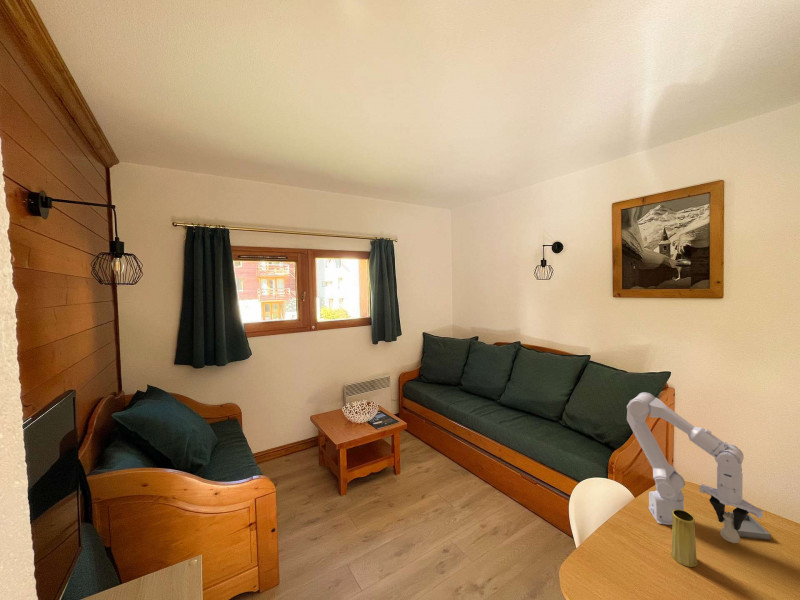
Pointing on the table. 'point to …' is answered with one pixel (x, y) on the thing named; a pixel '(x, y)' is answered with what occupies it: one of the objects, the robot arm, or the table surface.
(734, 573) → the table surface
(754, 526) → the tray
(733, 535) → the rook chess piece
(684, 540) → the vase
